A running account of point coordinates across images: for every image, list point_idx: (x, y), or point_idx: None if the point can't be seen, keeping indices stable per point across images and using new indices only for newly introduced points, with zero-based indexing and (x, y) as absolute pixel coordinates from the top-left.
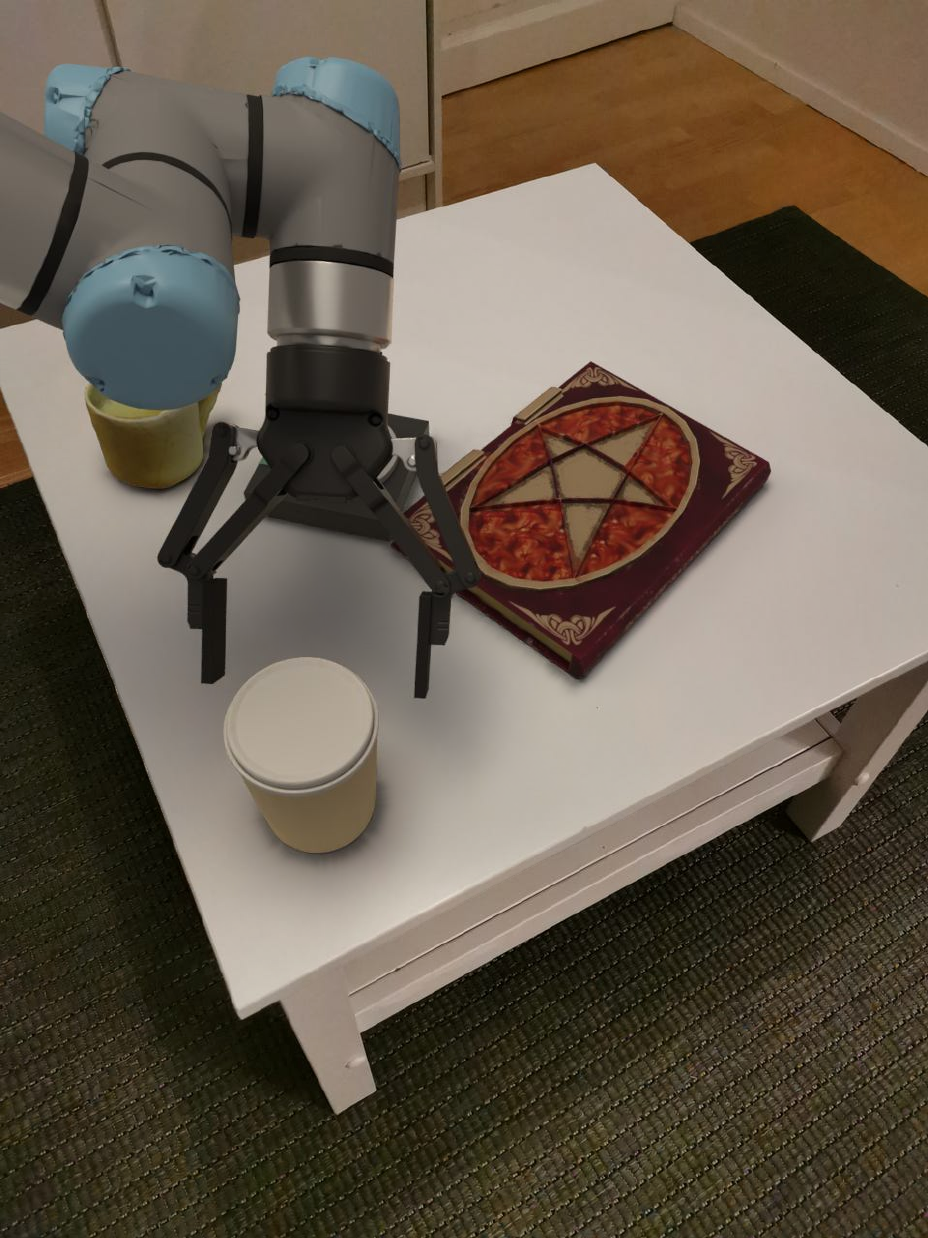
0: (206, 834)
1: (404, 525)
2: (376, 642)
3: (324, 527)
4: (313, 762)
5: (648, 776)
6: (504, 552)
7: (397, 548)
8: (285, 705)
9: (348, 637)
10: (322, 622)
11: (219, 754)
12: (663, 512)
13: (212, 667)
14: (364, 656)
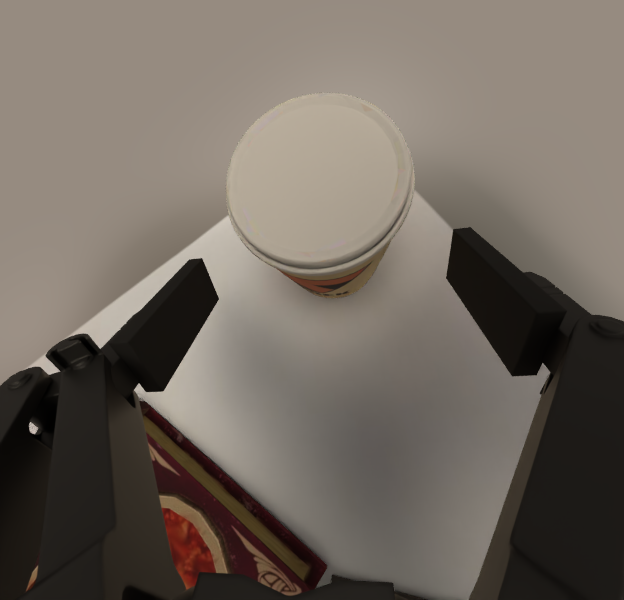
0: (415, 215)
1: (54, 486)
2: (319, 422)
3: (414, 597)
4: (284, 126)
5: (102, 319)
6: (181, 551)
7: (317, 560)
8: (337, 185)
9: (348, 426)
10: (379, 442)
11: (431, 282)
12: None
13: (463, 238)
14: (327, 404)
